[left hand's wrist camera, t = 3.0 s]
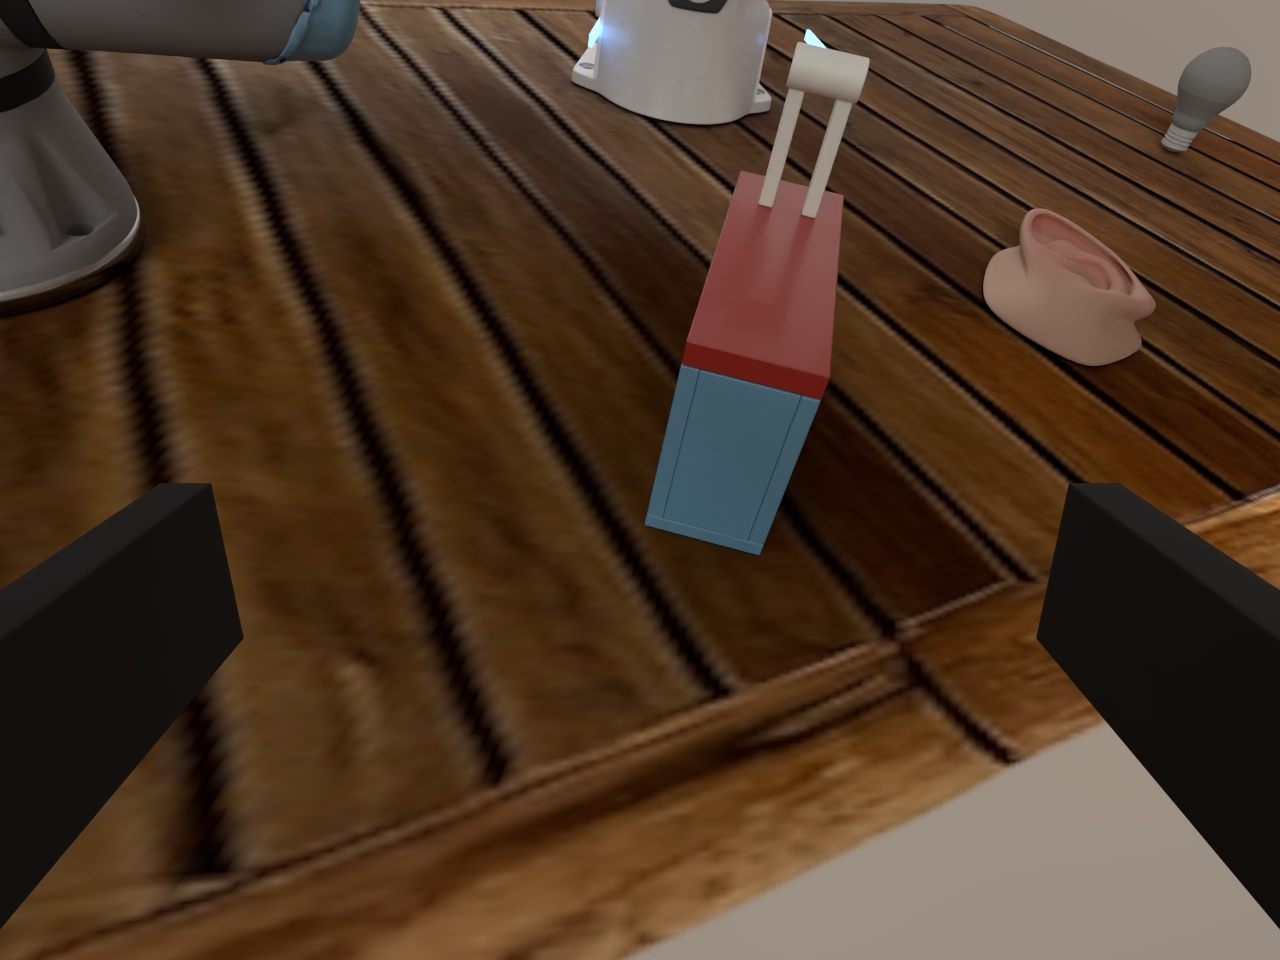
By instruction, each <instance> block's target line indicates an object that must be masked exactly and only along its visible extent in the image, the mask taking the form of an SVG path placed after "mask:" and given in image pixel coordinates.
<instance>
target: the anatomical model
mask: <svg viewBox="0 0 1280 960" xmlns="http://www.w3.org/2000/svg"><path fill="white" fill-rule="evenodd" d="M983 292H984V298H985V300H986V303H987V305H988V306H989V307H990V309H991V310H992V311H993V312H994V313H995V314H996V315H997V316H998V317H999V318H1000V319H1001V320H1002V321H1004V322H1005V323H1006V324H1008V325H1009V326H1010V327H1012V328H1013V329H1015V330H1016V331H1018V332H1019V333H1021V334H1022V335H1024V336H1026V337H1027V338H1029V339H1031V340H1032V341H1034V342H1036V343H1037V344H1039V345H1041V346H1043V347H1045V348H1046V349H1048V350H1050V351H1052V352H1054V353H1056V354H1058V355H1060V356H1062V357H1064V358H1066V359H1068V360H1071V361H1073V362H1076V363H1079V364H1083V365H1087V366H1101V365H1106V364H1110V363H1113V362H1116V361H1118V360H1121V359H1124V358H1126V357H1128V356H1130V355H1131V354H1133V353H1134V352H1136V351H1137V350H1138V349H1139V348H1140V347H1141V343H1142V341H1141V337H1140V335H1139V333H1138V331H1137V329H1136V327H1135V324H1134V323H1135V322H1136V321H1137V320H1140V319H1142V318H1145V317H1147V316H1149V315H1150V314H1151V313H1152V312H1153V311H1154V309H1155V306H1156V304H1155V301H1154V299H1153V298H1152V297H1151V295H1150V294H1149V292H1148V291H1147V290H1146V289H1145V287H1144V286H1143V285H1142V284H1141V282H1140V281H1139V280H1138V278H1137V277H1136V276H1135V275H1134V273H1133V272H1132V271H1131V270H1130V269H1129V267H1128V266H1127V265H1126V264H1125V263H1124V262H1123V261H1122V260H1121V259H1120V258H1119V257H1118V256H1117V255H1116V254H1115V253H1114V252H1113V251H1111V250H1110V249H1109V248H1108V247H1107V246H1105V245H1104V244H1103V243H1101V242H1100V241H1099V240H1097V239H1096V238H1095V237H1093V236H1092V235H1091V234H1089V233H1088V232H1086V231H1085V230H1083V229H1082V228H1080V227H1079V226H1077V225H1076V224H1074V223H1072V222H1071V221H1069V220H1067V219H1066V218H1064V217H1062V216H1060V215H1058V214H1056V213H1054V212H1052V211H1049V210H1046V209H1033V210H1031V211H1029V212H1028V213H1027V214H1026V216H1025V217H1024V219H1023V221H1022V224H1021V229H1020V245H1019V246H1017V247H1012V248H1008V249H1005V250H1002V251H1000V252H998V253H997V254H995V255H994V256H993V257H992V259H991V260H990V262H989V264H988V266H987V269H986V272H985V276H984V284H983Z"/></svg>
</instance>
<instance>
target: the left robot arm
mask: <svg viewBox="0 0 1280 960" xmlns="http://www.w3.org/2000/svg"><path fill="white" fill-rule="evenodd" d="M359 5H360V0H0V316H2V315H8V314H13V313H18V312H23V311H27V310H31V309H35V308H39V307H42V306H46V305H49V304H53V303H56V302H59V301H62V300H64V299H67V298H70V297H72V296H75V295H77V294H80V293H82V292H84V291H87V290H89V289H91V288H93V287H95V286H97V285H99V284H100V283H102V282H104V281H106V280H107V279H109V278H110V277H112V276H113V275H115V274H116V273H118V272H119V271H120V270H122V269H123V268H124V267H125V266H126V265H127V264H128V263H129V262H130V261H131V260H132V259H133V258H134V257H135V256H136V254H137V253H138V251H139V250H140V248H141V246H142V244H143V241H144V237H145V227H144V223H143V219H142V216H141V213H140V210H139V206H138V203H137V201H136V199H135V197H134V195H133V193H132V190H131V188H130V186H129V184H128V183H127V181H126V179H125V178H124V177H123V175H122V174H121V172H120V171H119V170H118V168H117V167H116V165H115V164H114V163H113V161H112V160H111V158H110V157H109V156H108V154H107V153H106V151H105V150H104V149H103V147H102V146H101V144H100V143H99V142H98V140H97V139H96V137H95V136H94V135H93V133H92V132H91V130H90V129H89V128H88V126H87V125H86V123H85V122H84V121H83V119H82V118H81V116H80V115H79V114H78V112H77V111H76V109H75V108H74V107H73V105H72V104H71V102H70V101H69V100H68V98H67V97H66V95H65V94H64V93H63V91H62V89H61V87H60V85H59V83H58V80H57V77H56V75H55V72H54V69H53V66H52V64H51V61H50V58H49V55H48V52H47V49H65V50H71V49H73V50H92V51H109V52H123V53H138V54H152V55H167V56H181V57H196V58H210V59H225V60H239V61H254V62H262V63H264V64H268V65H277V64H281V63H284V62H286V61H326V60H331V59H334V58H336V57H338V56H339V55H341V54H342V53H343V52H344V51H345V50H346V49H347V48H348V46H349V45H350V43H351V41H352V39H353V36H354V33H355V30H356V25H357V20H358V13H359ZM46 48H47V49H46ZM243 638H244V637H243V633H242V628H241V623H240V619H239V614H238V609H237V604H236V600H235V595H234V590H233V585H232V581H231V576H230V571H229V567H228V562H227V557H226V552H225V548H224V543H223V538H222V533H221V529H220V524H219V519H218V514H217V510H216V505H215V500H214V496H213V491H212V486H211V483H161V484H159V485H158V486H156V487H155V488H153V489H152V490H150V491H149V492H147V493H146V494H144V495H143V496H141V497H140V498H138V499H137V500H135V501H134V502H132V503H131V504H129V505H128V506H126V507H125V508H123V509H122V510H120V511H119V512H117V513H116V514H114V515H113V516H111V517H110V518H108V519H107V520H105V521H104V522H102V523H101V524H99V525H98V526H96V527H95V528H93V529H92V530H90V531H89V532H87V533H86V534H84V535H83V536H81V537H80V538H78V539H77V540H75V541H74V542H72V543H71V544H69V545H68V546H66V547H65V548H63V549H62V550H60V551H59V552H57V553H56V554H54V555H53V556H51V557H50V558H48V559H47V560H45V561H44V562H42V563H41V564H39V565H38V566H36V567H35V568H33V569H32V570H30V571H29V572H27V573H26V574H24V575H23V576H21V577H20V578H18V579H17V580H15V581H14V582H12V583H11V584H9V585H8V586H6V587H5V588H3V589H2V590H0V929H1V928H2V926H3V925H4V924H5V923H6V922H7V920H8V919H9V918H10V917H11V916H12V914H13V913H14V912H15V911H16V910H17V909H18V907H19V906H20V905H21V904H22V903H23V901H24V900H25V899H26V898H27V897H28V895H29V894H30V893H31V892H32V891H33V889H34V888H35V887H36V886H37V885H38V883H39V882H40V881H41V880H42V879H43V877H44V876H45V875H46V874H47V873H48V871H49V870H50V869H51V868H52V867H53V865H54V864H55V863H56V862H57V861H58V859H59V858H60V857H61V856H62V855H63V854H64V852H65V851H66V850H67V849H68V848H69V846H70V845H71V844H72V843H73V842H74V840H75V839H76V838H77V837H78V836H79V834H80V833H81V832H82V831H83V830H84V828H85V827H86V826H87V825H88V824H89V822H90V821H91V820H92V819H93V818H94V816H95V815H96V814H97V813H98V812H99V810H100V809H101V808H102V807H103V806H104V804H105V803H106V802H107V801H108V800H109V798H110V797H111V796H112V795H113V794H114V793H115V791H116V790H117V789H118V788H119V787H120V785H121V784H122V783H123V782H124V781H125V779H126V778H127V777H128V776H129V775H130V773H131V772H132V771H133V770H134V769H135V767H136V766H137V765H138V764H139V763H140V761H141V760H142V759H143V758H144V757H145V755H146V754H147V753H148V752H149V751H150V749H151V748H152V747H153V746H154V745H155V743H156V742H157V741H158V740H159V739H160V738H161V736H162V735H163V734H164V733H165V732H166V730H167V729H168V728H169V727H170V726H171V724H172V723H173V722H174V721H175V720H176V718H177V717H178V716H179V715H180V714H181V712H182V711H183V710H184V709H185V708H186V706H187V705H188V704H189V703H190V702H191V700H192V699H193V698H194V697H195V696H196V694H197V693H198V692H199V691H200V690H201V688H202V687H203V686H204V685H205V684H206V682H207V681H208V680H209V679H210V678H211V677H212V675H213V674H214V673H215V672H216V671H217V669H218V668H219V667H220V666H221V665H222V663H223V662H224V661H225V660H226V659H227V657H228V656H229V655H230V654H231V653H232V651H233V650H234V649H235V648H236V647H237V645H238V644H239V643H240V642H241V641H242V639H243ZM1036 638H1037V639H1038V641H1039V642H1040V643H1041V644H1042V645H1043V647H1044V648H1045V649H1046V650H1047V651H1048V653H1049V654H1050V655H1051V656H1052V657H1053V659H1054V660H1055V661H1056V662H1057V663H1058V665H1059V666H1060V667H1061V668H1062V669H1063V671H1064V672H1065V673H1066V674H1067V675H1068V677H1069V678H1070V679H1071V680H1072V681H1073V682H1074V684H1075V685H1076V686H1077V687H1078V688H1079V690H1080V691H1081V692H1082V693H1083V694H1084V696H1085V697H1086V698H1087V699H1088V700H1089V702H1090V703H1091V704H1092V705H1093V706H1094V708H1095V709H1096V710H1097V711H1098V712H1099V714H1100V715H1101V716H1102V717H1103V718H1104V720H1105V721H1106V722H1107V723H1108V724H1109V726H1110V727H1111V728H1112V729H1113V730H1114V732H1115V733H1116V734H1117V735H1118V736H1119V738H1120V739H1121V740H1122V741H1123V742H1124V743H1125V745H1126V746H1127V747H1128V748H1129V749H1130V751H1131V752H1132V753H1133V754H1134V755H1135V757H1136V758H1137V759H1138V760H1139V761H1140V763H1141V764H1142V765H1143V766H1144V767H1145V768H1146V770H1147V771H1148V772H1149V773H1150V775H1151V776H1152V777H1153V778H1154V779H1155V781H1156V782H1157V783H1158V784H1159V785H1160V786H1161V788H1162V789H1163V790H1164V791H1165V793H1166V794H1167V795H1168V796H1169V797H1170V798H1171V800H1172V801H1173V802H1174V803H1175V804H1176V806H1177V807H1178V808H1179V809H1180V810H1181V812H1182V813H1183V814H1184V815H1185V816H1186V818H1187V819H1188V820H1189V821H1190V822H1191V824H1192V825H1193V826H1194V827H1195V828H1196V830H1197V831H1198V832H1199V833H1200V834H1201V836H1202V837H1203V838H1204V839H1205V840H1206V842H1207V843H1208V844H1209V845H1210V846H1211V848H1212V849H1213V850H1214V851H1215V852H1216V854H1217V855H1218V856H1219V857H1220V858H1221V859H1222V861H1223V862H1224V863H1225V864H1226V865H1227V867H1228V868H1229V869H1230V870H1231V871H1232V873H1233V874H1234V875H1235V876H1236V877H1237V879H1238V880H1239V881H1240V882H1241V883H1242V885H1243V886H1244V887H1245V888H1246V889H1247V891H1248V892H1249V893H1250V894H1251V895H1252V897H1253V898H1254V899H1255V900H1256V901H1257V903H1258V904H1259V905H1260V906H1261V907H1262V909H1263V910H1264V911H1265V912H1266V913H1267V914H1268V916H1269V917H1270V918H1271V919H1272V920H1273V922H1274V923H1275V924H1276V925H1277V926H1278V928H1279V929H1280V590H1278V589H1277V588H1275V587H1274V586H1272V585H1271V584H1269V583H1268V582H1266V581H1265V580H1263V579H1262V578H1260V577H1259V576H1257V575H1256V574H1254V573H1253V572H1251V571H1250V570H1248V569H1247V568H1245V567H1244V566H1242V565H1241V564H1239V563H1238V562H1236V561H1235V560H1233V559H1232V558H1230V557H1229V556H1227V555H1226V554H1224V553H1223V552H1221V551H1220V550H1218V549H1217V548H1215V547H1214V546H1212V545H1211V544H1209V543H1208V542H1206V541H1205V540H1203V539H1202V538H1200V537H1199V536H1197V535H1196V534H1194V533H1193V532H1191V531H1190V530H1188V529H1187V528H1185V527H1184V526H1182V525H1181V524H1179V523H1178V522H1176V521H1175V520H1173V519H1172V518H1170V517H1169V516H1167V515H1166V514H1164V513H1163V512H1161V511H1160V510H1158V509H1157V508H1155V507H1154V506H1152V505H1151V504H1149V503H1148V502H1146V501H1145V500H1143V499H1142V498H1140V497H1139V496H1137V495H1136V494H1134V493H1133V492H1131V491H1130V490H1128V489H1127V488H1125V487H1124V486H1122V485H1121V484H1119V483H1069V486H1068V491H1067V496H1066V500H1065V505H1064V510H1063V514H1062V519H1061V524H1060V529H1059V533H1058V538H1057V543H1056V548H1055V552H1054V557H1053V562H1052V566H1051V571H1050V576H1049V581H1048V585H1047V590H1046V595H1045V600H1044V604H1043V609H1042V614H1041V619H1040V623H1039V628H1038V633H1037V637H1036Z"/></svg>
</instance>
